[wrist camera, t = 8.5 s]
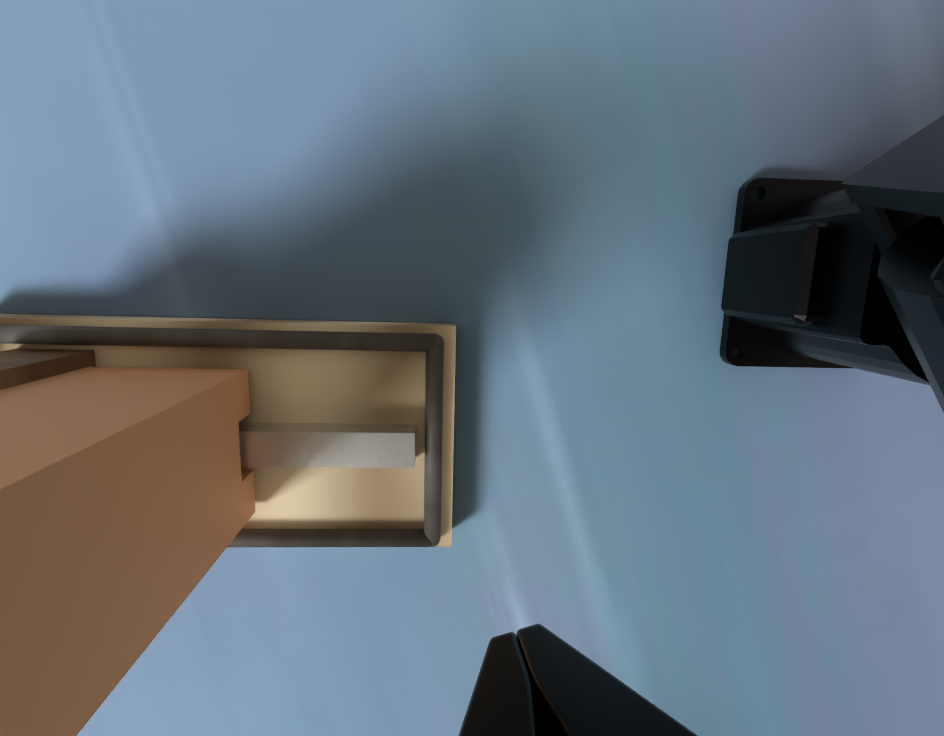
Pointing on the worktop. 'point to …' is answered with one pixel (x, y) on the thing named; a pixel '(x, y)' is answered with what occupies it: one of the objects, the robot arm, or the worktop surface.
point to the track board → (305, 411)
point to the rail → (327, 445)
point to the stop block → (40, 364)
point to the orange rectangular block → (107, 525)
